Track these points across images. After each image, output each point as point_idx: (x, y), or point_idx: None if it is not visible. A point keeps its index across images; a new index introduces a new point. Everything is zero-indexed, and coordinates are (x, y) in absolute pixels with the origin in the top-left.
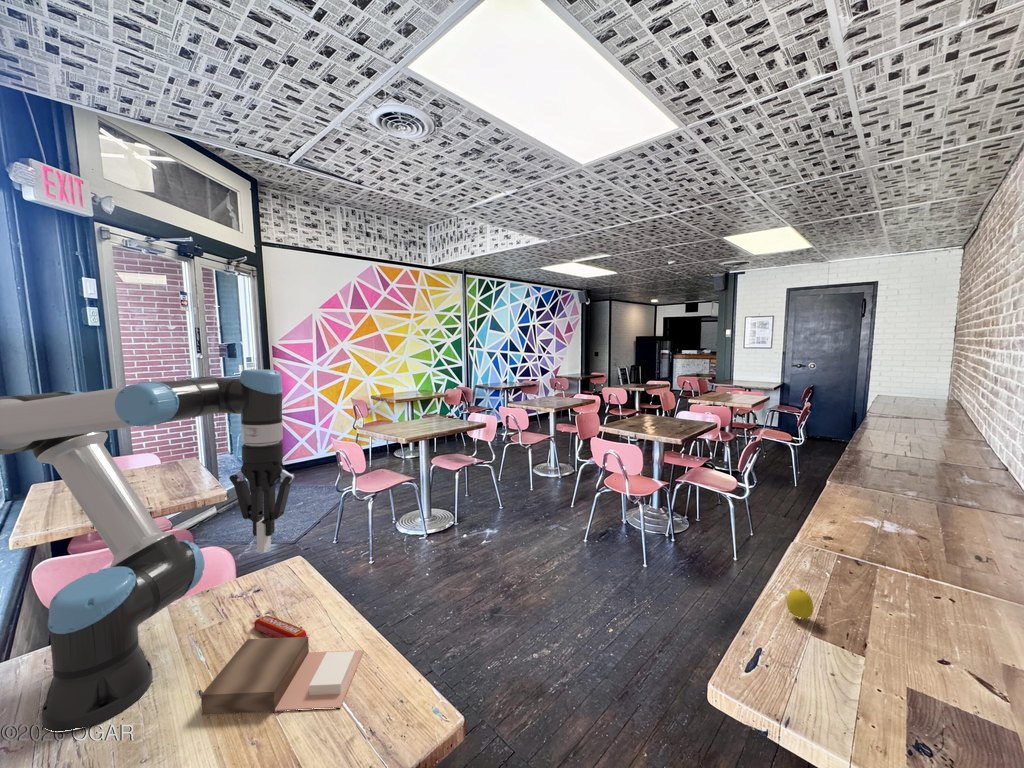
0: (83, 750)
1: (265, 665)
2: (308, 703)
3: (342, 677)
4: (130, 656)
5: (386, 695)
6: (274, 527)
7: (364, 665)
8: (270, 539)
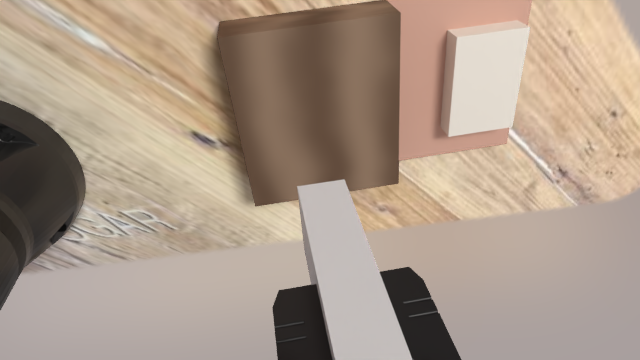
0: (115, 251)
1: (339, 126)
2: (445, 143)
3: (513, 111)
4: (20, 223)
5: (586, 105)
6: (434, 304)
7: (538, 29)
8: (356, 216)
